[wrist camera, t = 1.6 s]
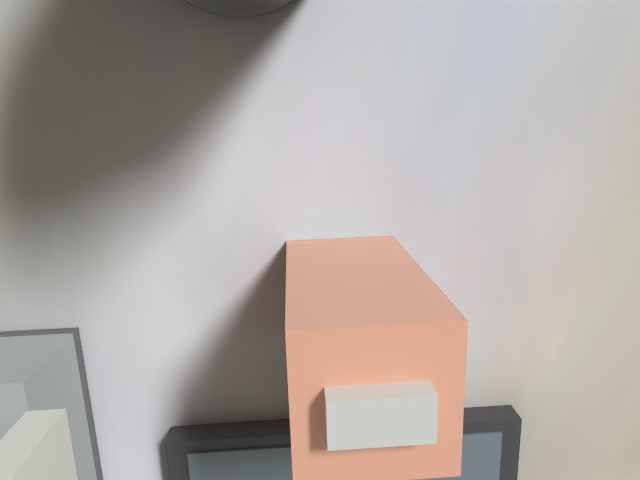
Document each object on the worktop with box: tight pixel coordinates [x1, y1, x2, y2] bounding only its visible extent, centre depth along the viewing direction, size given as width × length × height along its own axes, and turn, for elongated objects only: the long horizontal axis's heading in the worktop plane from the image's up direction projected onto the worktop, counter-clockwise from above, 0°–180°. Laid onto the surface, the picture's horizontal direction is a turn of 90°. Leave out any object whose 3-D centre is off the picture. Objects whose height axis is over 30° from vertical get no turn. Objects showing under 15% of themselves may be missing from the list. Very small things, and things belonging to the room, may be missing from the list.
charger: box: [285, 236, 468, 480], centre depth 15 cm, size 4×4×9 cm
